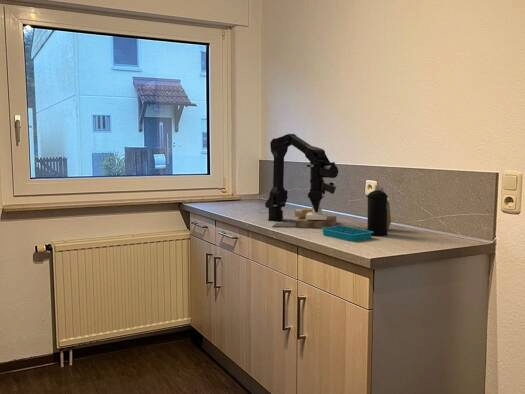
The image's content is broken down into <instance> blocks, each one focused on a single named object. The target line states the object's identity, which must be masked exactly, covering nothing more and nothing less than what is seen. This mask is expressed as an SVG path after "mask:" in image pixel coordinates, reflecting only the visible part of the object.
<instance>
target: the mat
mask: <svg viewBox="0 0 525 394" xmlns="http://www.w3.org/2000/svg"><path fill="white" fill-rule="evenodd" d="M272 228H294V229H295V228H296V222H276V223H274V225H272Z"/></svg>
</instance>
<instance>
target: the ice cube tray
mask: <svg viewBox="0 0 525 394" xmlns="http://www.w3.org/2000/svg"><path fill="white" fill-rule="evenodd" d="M319 229H320V230H321V231H322V235H323V236H326V237H329V238H335V239H338V240H339V239H340V240H344V241H348V242H361V241H367V240H371V238H372V236H371V233H374V232H373V231H367V229H362V228H356V227H352V226H351V227H350V226H345V225H335V226H333V227H325V228H319Z"/></svg>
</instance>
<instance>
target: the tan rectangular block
mask: <svg viewBox="0 0 525 394" xmlns="http://www.w3.org/2000/svg"><path fill="white" fill-rule="evenodd" d="M308 212H312V208H296V209H294V218H299V217H306V214H307V213H308Z"/></svg>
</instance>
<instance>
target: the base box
mask: <svg viewBox="0 0 525 394" xmlns="http://www.w3.org/2000/svg"><path fill="white" fill-rule="evenodd" d="M295 223H296V227H295V228H296V229H297V228H299V229H320V228H325V227H333V226H337V216H336V215H328V218H327V219H326V220H306V217H297V219H296V220H295Z"/></svg>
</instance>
